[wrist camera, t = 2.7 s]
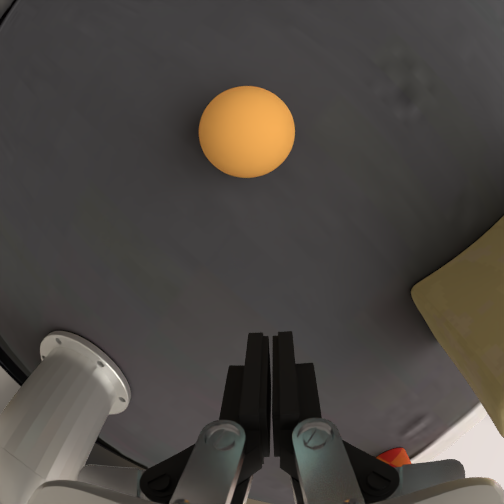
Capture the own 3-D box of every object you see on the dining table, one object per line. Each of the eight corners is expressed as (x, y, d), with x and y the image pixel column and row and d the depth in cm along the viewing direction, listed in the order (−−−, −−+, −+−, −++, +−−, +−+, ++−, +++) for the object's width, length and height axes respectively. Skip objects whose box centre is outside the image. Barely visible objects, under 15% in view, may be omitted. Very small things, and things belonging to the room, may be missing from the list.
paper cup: (419, 441, 30) (443, 507, 17) (392, 465, 33) (409, 526, 20) (383, 445, 30) (405, 520, 17) (356, 468, 32) (370, 536, 19)
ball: (243, 190, 19) (236, 204, 14) (192, 131, 18) (166, 123, 13) (306, 141, 18) (323, 137, 13) (254, 81, 16) (251, 55, 11)
